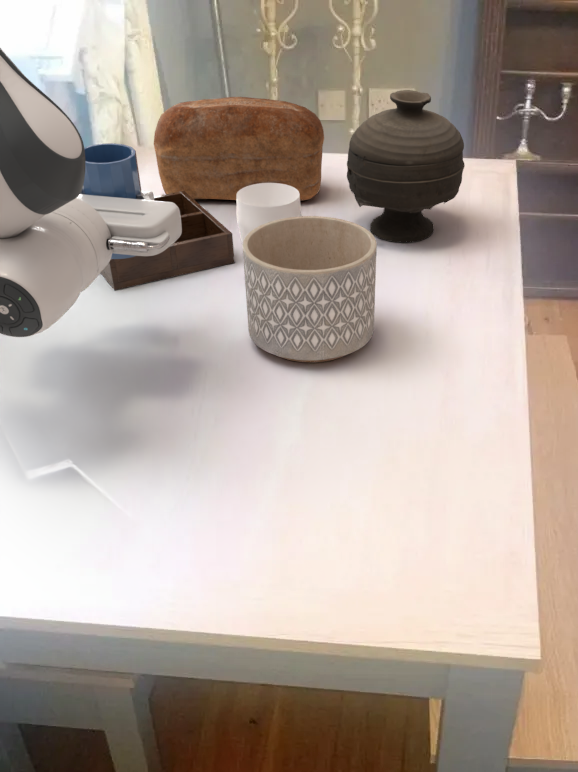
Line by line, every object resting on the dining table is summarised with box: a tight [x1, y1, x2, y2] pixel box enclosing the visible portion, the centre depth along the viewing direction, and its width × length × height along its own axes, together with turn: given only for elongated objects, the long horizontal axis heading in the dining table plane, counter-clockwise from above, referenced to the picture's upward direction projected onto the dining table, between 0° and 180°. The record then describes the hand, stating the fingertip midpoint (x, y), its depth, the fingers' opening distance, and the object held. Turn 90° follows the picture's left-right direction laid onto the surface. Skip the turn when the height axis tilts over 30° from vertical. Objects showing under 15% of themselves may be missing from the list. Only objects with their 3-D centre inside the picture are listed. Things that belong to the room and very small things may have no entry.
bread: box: [153, 96, 325, 202], centre depth 149 cm, size 12×28×14 cm, turn 88°
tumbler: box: [82, 142, 142, 259], centre depth 107 cm, size 7×7×11 cm
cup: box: [235, 183, 303, 246], centre depth 127 cm, size 9×9×12 cm
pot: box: [346, 89, 465, 244], centre depth 137 cm, size 18×18×20 cm
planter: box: [241, 215, 378, 363], centre depth 114 cm, size 16×16×13 cm
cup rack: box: [100, 191, 236, 291], centre depth 136 cm, size 19×19×4 cm
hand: (115, 194), depth 108 cm, fingers closed on tumbler, 7 cm apart
